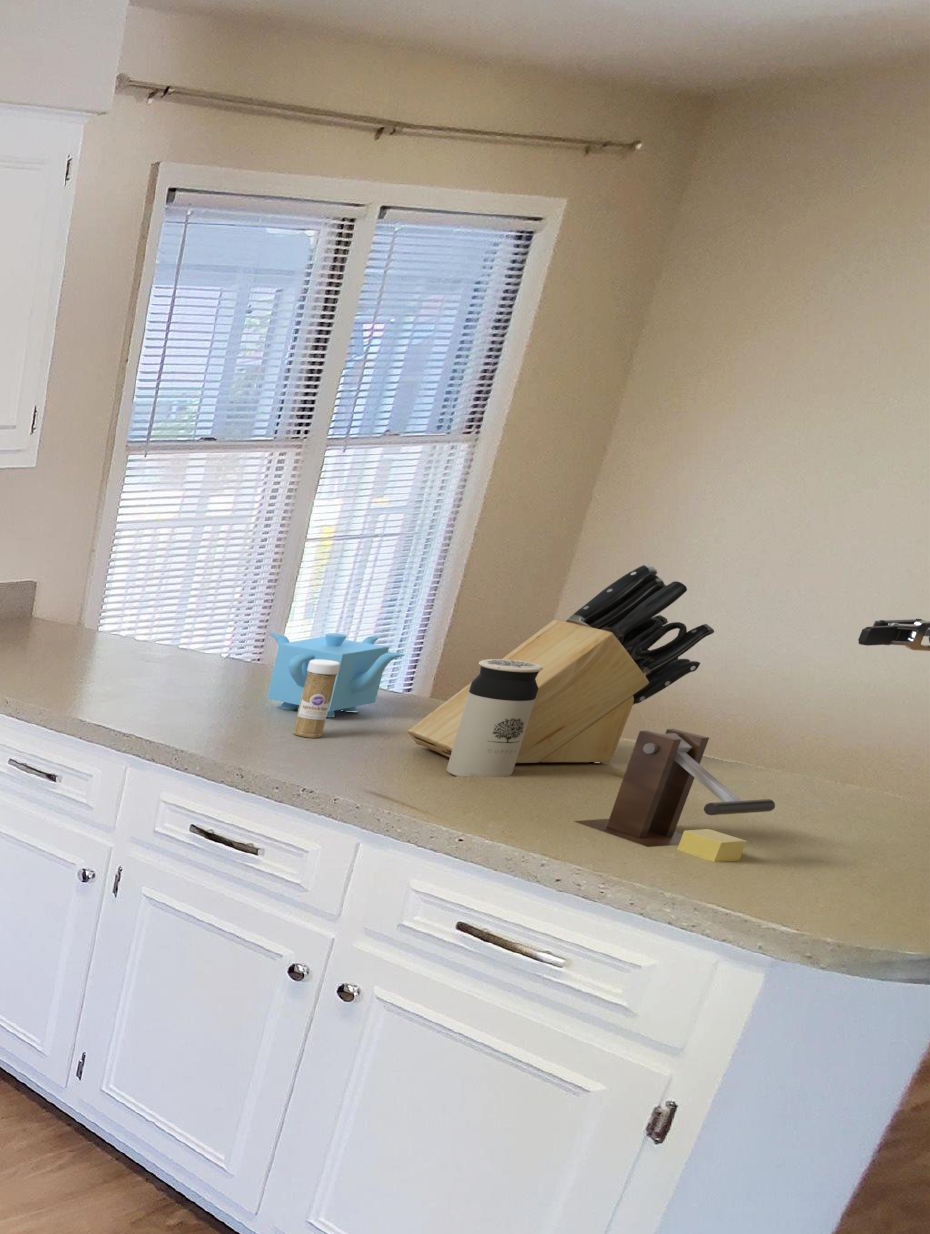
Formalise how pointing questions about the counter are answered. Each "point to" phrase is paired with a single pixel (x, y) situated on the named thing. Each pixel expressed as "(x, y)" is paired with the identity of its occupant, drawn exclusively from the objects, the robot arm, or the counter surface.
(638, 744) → the stand
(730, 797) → the lever
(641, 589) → the knife block
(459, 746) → the travel mug
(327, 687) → the sprinkles bottle
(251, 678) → the counter surface
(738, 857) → the butter
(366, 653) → the teakettle
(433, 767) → the counter surface
